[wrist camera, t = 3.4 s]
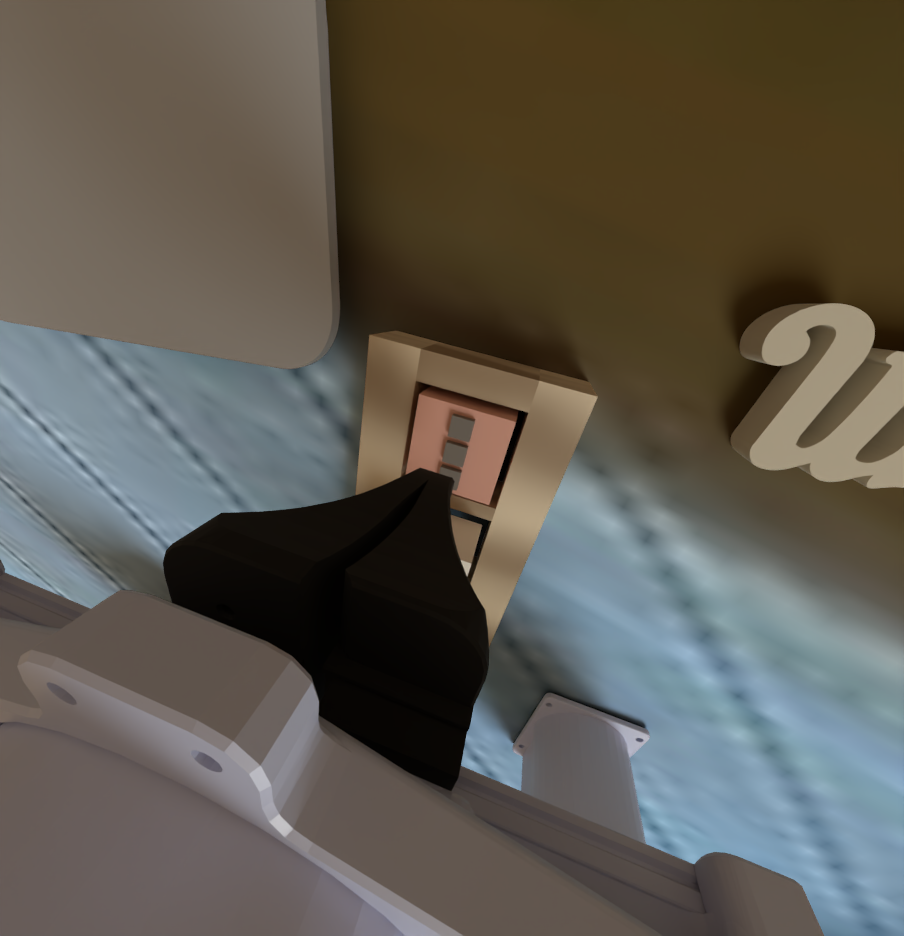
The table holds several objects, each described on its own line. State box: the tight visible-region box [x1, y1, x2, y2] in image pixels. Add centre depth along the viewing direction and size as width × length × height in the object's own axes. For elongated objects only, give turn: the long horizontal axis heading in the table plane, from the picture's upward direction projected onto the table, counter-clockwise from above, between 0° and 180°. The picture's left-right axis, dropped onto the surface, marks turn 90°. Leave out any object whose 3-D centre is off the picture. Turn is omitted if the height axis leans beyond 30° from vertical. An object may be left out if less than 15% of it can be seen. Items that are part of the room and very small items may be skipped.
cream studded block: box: [451, 515, 482, 576], centre depth 17 cm, size 4×4×3 cm
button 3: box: [406, 385, 519, 505], centre depth 17 cm, size 4×4×3 cm
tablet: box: [0, 0, 340, 369], centre depth 17 cm, size 16×26×2 cm, turn 84°
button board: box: [355, 331, 598, 646], centre depth 20 cm, size 20×10×3 cm, turn 167°
